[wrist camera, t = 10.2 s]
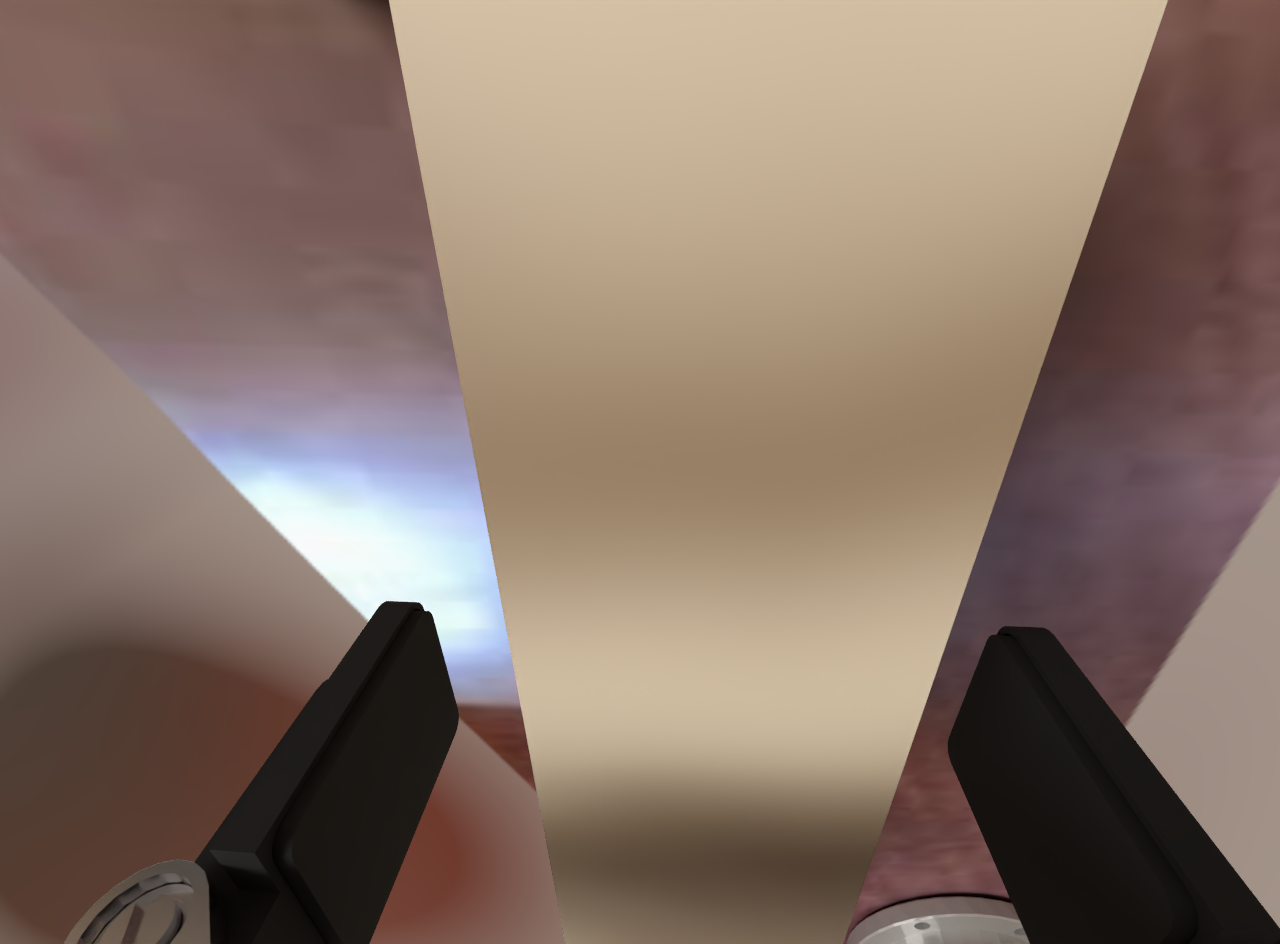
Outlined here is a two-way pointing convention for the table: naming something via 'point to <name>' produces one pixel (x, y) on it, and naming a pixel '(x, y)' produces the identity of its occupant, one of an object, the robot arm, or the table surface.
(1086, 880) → the robot arm
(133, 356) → the table surface
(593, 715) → the beech bar
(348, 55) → the table surface
